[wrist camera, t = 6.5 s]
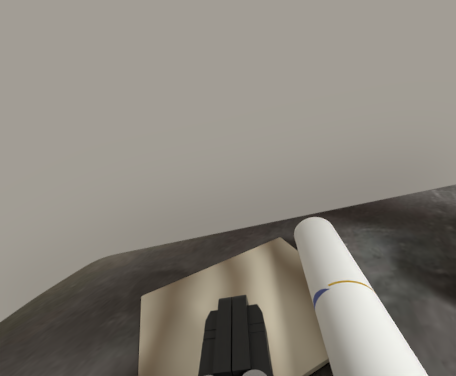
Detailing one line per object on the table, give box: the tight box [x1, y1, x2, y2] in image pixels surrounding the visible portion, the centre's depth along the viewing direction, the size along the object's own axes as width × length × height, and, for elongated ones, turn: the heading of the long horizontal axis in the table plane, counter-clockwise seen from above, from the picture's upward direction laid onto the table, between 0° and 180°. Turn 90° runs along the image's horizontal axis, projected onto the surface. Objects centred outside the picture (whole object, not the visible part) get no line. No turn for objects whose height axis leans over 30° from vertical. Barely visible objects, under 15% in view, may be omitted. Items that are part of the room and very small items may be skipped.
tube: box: [294, 217, 428, 376], centre depth 17 cm, size 4×4×15 cm
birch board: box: [138, 237, 329, 376], centre depth 20 cm, size 18×14×1 cm
